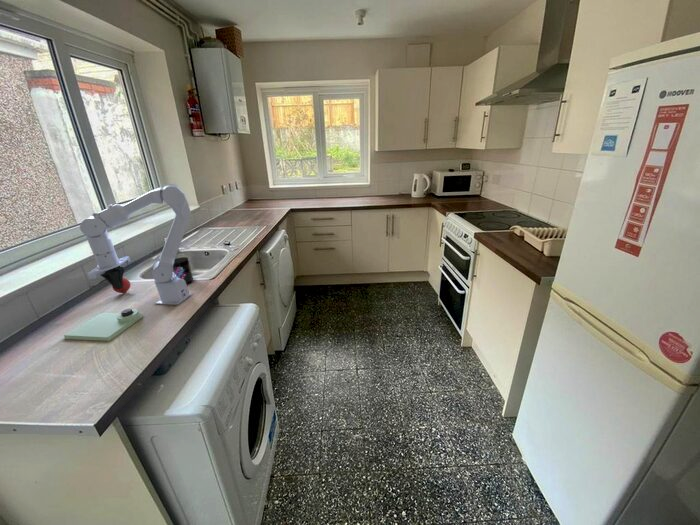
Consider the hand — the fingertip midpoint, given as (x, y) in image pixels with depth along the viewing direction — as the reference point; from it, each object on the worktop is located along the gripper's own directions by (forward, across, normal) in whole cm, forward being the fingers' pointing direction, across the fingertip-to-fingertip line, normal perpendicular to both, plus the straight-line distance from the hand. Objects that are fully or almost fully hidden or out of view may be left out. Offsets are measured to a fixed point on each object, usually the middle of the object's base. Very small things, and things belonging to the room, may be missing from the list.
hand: (118, 288), depth 101 cm
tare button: (+7, +6, +7) cm, 11 cm away
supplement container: (+10, -24, +7) cm, 26 cm away
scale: (+9, +10, +1) cm, 14 cm away
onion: (+10, -13, -14) cm, 21 cm away
